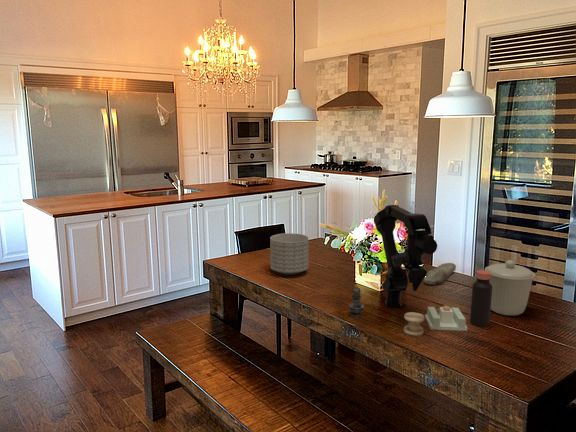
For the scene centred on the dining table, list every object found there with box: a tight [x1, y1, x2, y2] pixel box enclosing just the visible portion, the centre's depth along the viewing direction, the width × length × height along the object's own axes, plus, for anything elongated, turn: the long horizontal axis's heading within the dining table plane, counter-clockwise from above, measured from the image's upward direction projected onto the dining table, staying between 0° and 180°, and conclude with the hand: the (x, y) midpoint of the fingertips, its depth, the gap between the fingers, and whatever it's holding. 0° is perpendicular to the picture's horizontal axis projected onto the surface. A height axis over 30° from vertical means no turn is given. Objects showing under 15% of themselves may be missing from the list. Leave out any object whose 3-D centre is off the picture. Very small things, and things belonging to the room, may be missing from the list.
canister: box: [484, 259, 536, 317], centre depth 189 cm, size 18×18×21 cm
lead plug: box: [438, 305, 453, 323], centre depth 178 cm, size 4×4×6 cm
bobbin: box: [403, 311, 425, 337], centre depth 171 cm, size 7×7×6 cm
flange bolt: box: [348, 285, 365, 318], centre depth 186 cm, size 6×6×12 cm
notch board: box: [424, 306, 468, 332], centre depth 178 cm, size 11×13×4 cm
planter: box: [269, 232, 309, 276], centre depth 237 cm, size 19×19×18 cm
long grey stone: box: [423, 262, 457, 286], centre depth 233 cm, size 35×5×10 cm
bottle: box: [469, 269, 492, 327], centre depth 177 cm, size 7×7×20 cm
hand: (412, 286), depth 182 cm, fingers open, 9 cm apart
